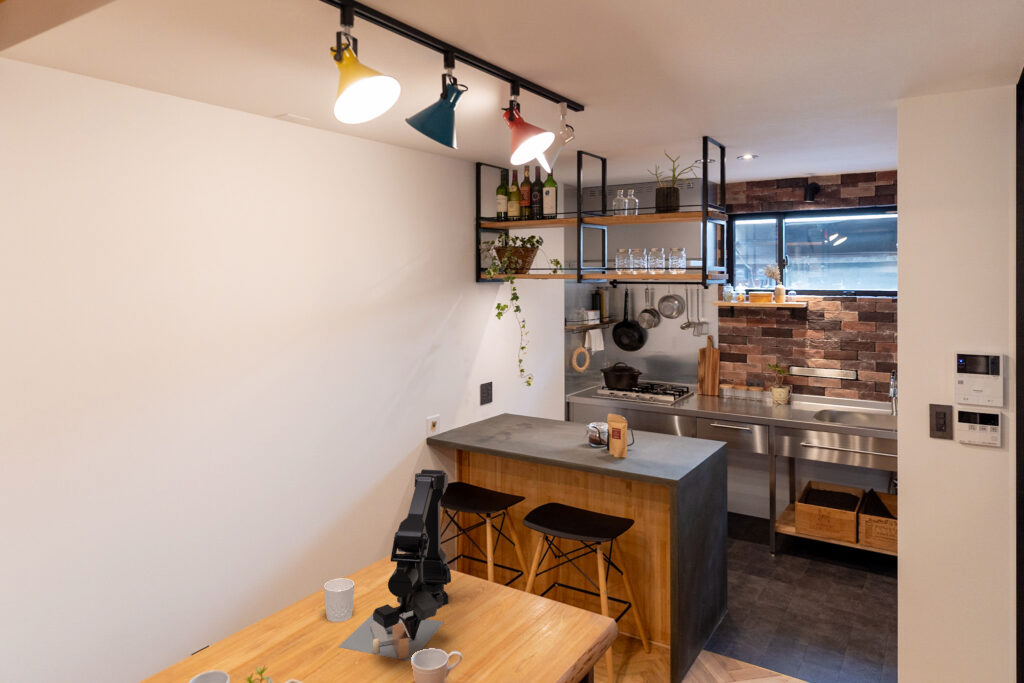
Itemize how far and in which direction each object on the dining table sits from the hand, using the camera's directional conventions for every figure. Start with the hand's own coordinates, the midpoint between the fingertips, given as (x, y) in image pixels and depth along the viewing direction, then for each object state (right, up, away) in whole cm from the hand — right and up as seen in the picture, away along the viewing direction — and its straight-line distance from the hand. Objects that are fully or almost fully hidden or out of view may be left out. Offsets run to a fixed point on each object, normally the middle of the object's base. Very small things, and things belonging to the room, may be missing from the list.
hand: (412, 639), depth 168 cm
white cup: (-22, -2, +17) cm, 28 cm away
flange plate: (-5, -2, +4) cm, 6 cm away
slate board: (-6, -3, +8) cm, 10 cm away
